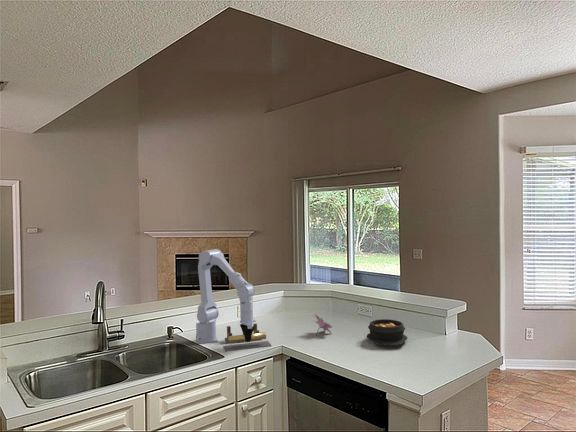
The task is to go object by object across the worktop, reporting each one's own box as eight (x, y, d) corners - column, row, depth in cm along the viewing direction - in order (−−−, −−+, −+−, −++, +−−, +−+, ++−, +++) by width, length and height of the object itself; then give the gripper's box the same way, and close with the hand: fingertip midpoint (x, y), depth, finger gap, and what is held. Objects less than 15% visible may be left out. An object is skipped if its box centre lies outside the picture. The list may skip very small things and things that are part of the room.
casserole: (412, 349, 183) (411, 330, 183) (368, 349, 185) (368, 330, 185) (402, 333, 208) (402, 316, 208) (364, 333, 210) (364, 316, 210)
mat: (225, 351, 187) (225, 350, 187) (223, 346, 193) (223, 345, 193) (271, 346, 193) (271, 345, 193) (267, 341, 199) (267, 340, 199)
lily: (332, 340, 203) (338, 320, 206) (309, 331, 203) (316, 312, 206) (326, 340, 214) (332, 322, 218) (305, 332, 214) (311, 314, 217)
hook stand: (226, 343, 198) (226, 329, 197) (224, 340, 204) (224, 326, 204) (261, 339, 202) (261, 326, 202) (259, 336, 208) (258, 323, 208)
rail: (229, 343, 189) (229, 337, 189) (228, 341, 192) (228, 335, 192) (266, 339, 194) (266, 333, 194) (264, 337, 197) (264, 331, 197)
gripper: (258, 313, 187) (259, 344, 187) (251, 307, 201) (252, 335, 201) (242, 315, 185) (243, 346, 185) (237, 308, 199) (238, 337, 199)
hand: (247, 340), depth 193 cm, fingers closed on rail, 3 cm apart
